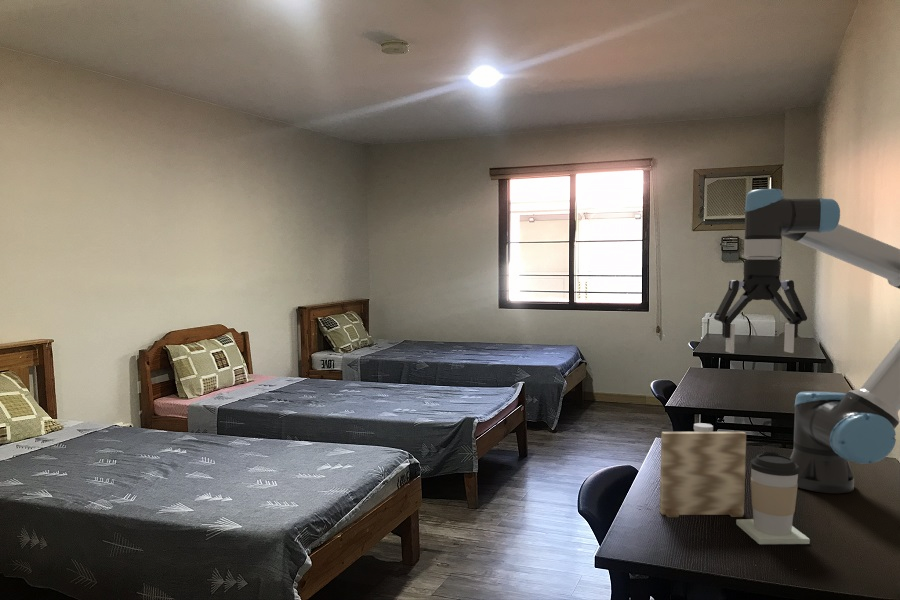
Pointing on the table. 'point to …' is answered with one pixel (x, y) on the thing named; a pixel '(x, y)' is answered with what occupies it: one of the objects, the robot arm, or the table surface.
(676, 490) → the screen
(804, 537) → the mat
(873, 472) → the table surface
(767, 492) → the coffee cup
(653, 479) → the table surface
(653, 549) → the table surface
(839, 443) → the robot arm
